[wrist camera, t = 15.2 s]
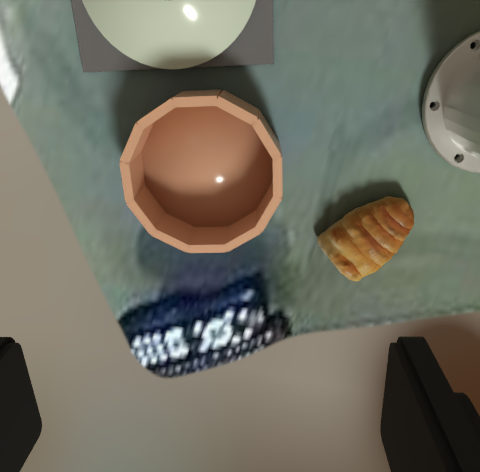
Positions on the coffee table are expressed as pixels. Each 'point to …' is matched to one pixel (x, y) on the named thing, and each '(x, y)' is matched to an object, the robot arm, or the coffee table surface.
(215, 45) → the lid
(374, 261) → the pastry
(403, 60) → the coffee table surface
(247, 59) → the mat
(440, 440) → the robot arm
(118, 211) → the coffee table surface
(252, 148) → the bowl
